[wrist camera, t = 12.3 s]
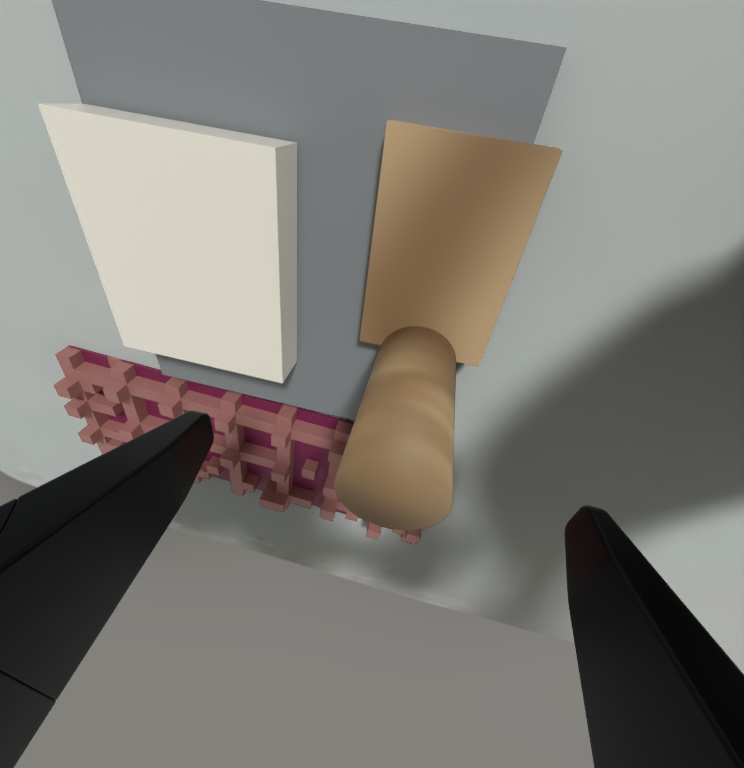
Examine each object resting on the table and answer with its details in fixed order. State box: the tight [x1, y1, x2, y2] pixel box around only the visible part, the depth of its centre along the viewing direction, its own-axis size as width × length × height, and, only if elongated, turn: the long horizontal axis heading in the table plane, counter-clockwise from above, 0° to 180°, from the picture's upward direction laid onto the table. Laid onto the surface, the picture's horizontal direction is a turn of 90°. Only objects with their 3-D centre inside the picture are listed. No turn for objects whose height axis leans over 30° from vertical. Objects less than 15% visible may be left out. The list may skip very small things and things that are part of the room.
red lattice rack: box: [54, 346, 421, 544], centre depth 18 cm, size 7×19×2 cm, turn 80°
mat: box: [52, 0, 566, 420], centre depth 12 cm, size 12×12×1 cm
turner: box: [334, 120, 562, 530], centre depth 9 cm, size 4×8×6 cm, turn 172°
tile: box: [38, 104, 297, 383], centre depth 11 cm, size 2×7×6 cm
